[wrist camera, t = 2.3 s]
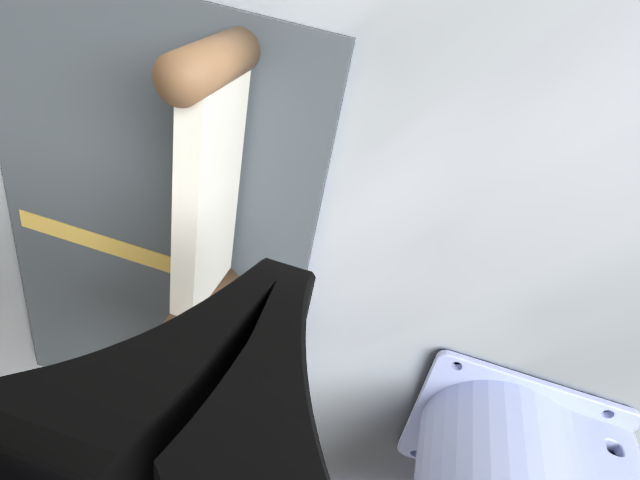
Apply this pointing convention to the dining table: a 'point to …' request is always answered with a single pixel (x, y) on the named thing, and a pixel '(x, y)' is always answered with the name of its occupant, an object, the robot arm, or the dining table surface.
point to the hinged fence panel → (205, 155)
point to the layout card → (145, 156)
